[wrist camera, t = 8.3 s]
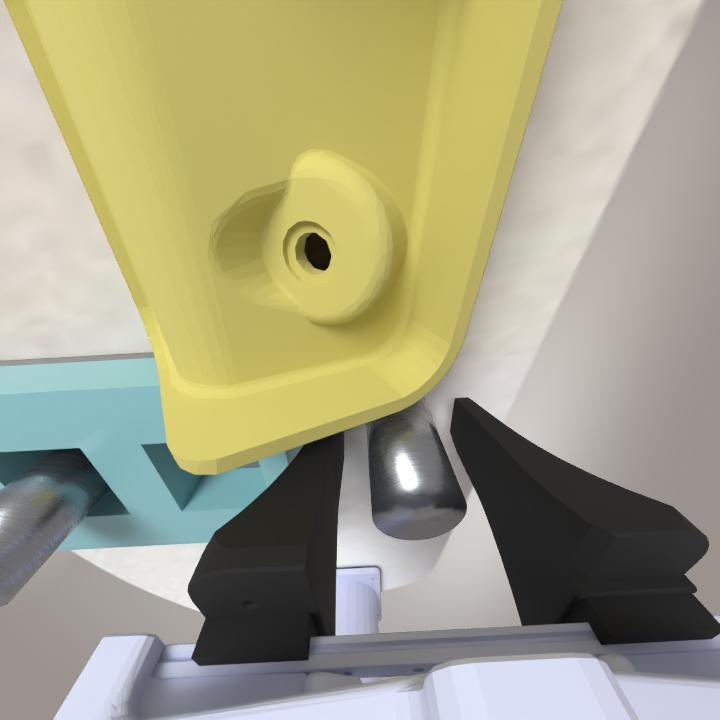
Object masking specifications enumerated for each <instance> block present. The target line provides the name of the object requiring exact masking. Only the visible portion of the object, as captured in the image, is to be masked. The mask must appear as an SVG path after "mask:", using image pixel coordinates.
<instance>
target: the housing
mask: <svg viewBox="0 0 720 720" xmlns="http://www.w3.org/2000/svg"><path fill="white" fill-rule="evenodd" d="M302 447H303V445H301V446H298V447H295V448H292V449H289V450H287V451H284V452H281V453H278V454H275V455H272V456H269V457H266V458H264V459H261V460H258V461H255V462H252V463H249V464H246V465H243V466H241V467H238V468H235V469H232V470H229V471H226V472H223V473H220V474H218V475H195V474H192V473H190V472H188V471H185V470H183V469H181V468H180V467H179V465H178V464H177V462H176V461H175V459H174V457H173V455H172V454H171V452H170V450H169V448H168V446H167V440H166V432H165V424H164V416H163V408H162V400H161V392H160V383H159V375H158V368H157V364H156V360H155V356H154V353H153V352H151V353H134V354H116V355H98V356H81V357H63V358H45V359H27V360H10V361H0V490H1V489H2V488H4V487H5V486H6V485H8V484H9V483H10V482H11V481H13V480H14V479H15V478H17V477H18V476H19V475H20V474H22V473H23V472H24V471H26V470H27V469H28V468H29V467H31V466H32V465H33V464H35V463H36V462H37V461H38V460H40V459H41V458H42V457H44V456H45V455H46V454H47V453H49V452H50V451H51V450H53V449H69V448H80V449H81V450H82V451H83V453H84V454H85V455H86V457H87V458H88V459H89V461H90V462H91V463H92V464H93V466H94V467H95V468H96V470H97V471H98V472H99V473H100V475H101V476H102V477H103V479H104V480H105V481H106V483H107V484H108V485H109V486H110V489H109V490H108V491H107V492H106V494H105V495H104V496H103V497H102V498H101V499H100V500H99V502H98V503H97V504H96V505H95V506H94V507H93V508H92V509H91V511H90V512H89V513H88V514H87V515H86V516H85V517H84V518H83V520H82V521H81V522H80V523H79V524H78V525H77V526H76V528H75V529H74V530H73V531H72V532H71V533H70V534H69V535H68V537H67V538H66V539H65V540H64V541H63V542H62V543H61V544H60V546H59V547H58V548H57V549H56V550H76V549H94V548H113V547H131V546H150V545H169V544H187V543H206V542H209V541H210V540H211V538H212V536H213V534H214V532H215V531H216V530H218V529H219V528H220V527H222V526H223V525H224V524H226V523H227V522H228V521H229V520H231V519H232V518H233V517H235V516H236V515H237V514H238V513H240V512H241V511H242V510H243V509H245V508H246V507H247V506H248V505H249V504H250V503H251V502H252V501H253V500H255V499H256V498H257V497H258V496H259V495H260V494H261V493H262V492H263V491H264V490H265V489H267V488H268V487H269V486H270V485H271V484H272V483H273V481H274V480H275V479H276V478H277V477H278V476H279V475H280V474H281V473H282V472H283V471H284V470H285V468H286V467H287V466H288V465H289V464H290V463H291V461H292V460H293V459H294V458H295V456H296V455H297V454H298V452H299V451H300V450H301V448H302ZM56 550H55V551H56Z"/></svg>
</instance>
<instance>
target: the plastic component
mask: <svg viewBox="0 0 720 720" xmlns="http://www.w3.org/2000/svg"><path fill="white" fill-rule="evenodd" d="M562 2H563V0H4V3H5V5H6V7H7V9H8V12H9V14H10V16H11V18H12V21H13V23H14V25H15V28H16V30H17V32H18V35H19V37H20V39H21V41H22V44H23V46H24V48H25V51H26V53H27V55H28V58H29V60H30V62H31V64H32V67H33V69H34V71H35V74H36V76H37V78H38V81H39V83H40V85H41V87H42V90H43V92H44V94H45V97H46V99H47V101H48V104H49V106H50V108H51V110H52V113H53V115H54V117H55V120H56V122H57V124H58V127H59V129H60V131H61V133H62V136H63V138H64V140H65V143H66V145H67V147H68V150H69V152H70V154H71V156H72V159H73V161H74V163H75V166H76V168H77V170H78V173H79V175H80V177H81V179H82V182H83V184H84V186H85V189H86V191H87V193H88V196H89V198H90V200H91V202H92V205H93V207H94V209H95V212H96V214H97V216H98V218H99V221H100V223H101V225H102V228H103V230H104V232H105V235H106V237H107V239H108V241H109V244H110V246H111V248H112V251H113V253H114V255H115V258H116V260H117V262H118V264H119V267H120V269H121V271H122V274H123V276H124V278H125V281H126V283H127V285H128V287H129V290H130V292H131V294H132V297H133V299H134V301H135V304H136V306H137V308H138V311H139V313H140V316H141V318H142V321H143V323H144V326H145V329H146V332H147V334H148V337H149V340H150V343H151V346H152V349H153V353H154V356H155V360H156V364H157V368H158V375H159V383H160V392H161V400H162V408H163V416H164V424H165V432H166V440H167V446H168V448H169V450H170V452H171V454H172V455H173V457H174V459H175V461H176V462H177V464H178V465H179V467H180V468H181V469H183V470H185V471H188V472H190V473H192V474H195V475H218V474H220V473H223V472H226V471H229V470H232V469H235V468H238V467H241V466H243V465H246V464H249V463H252V462H255V461H258V460H261V459H264V458H266V457H269V456H272V455H275V454H278V453H281V452H284V451H287V450H289V449H292V448H295V447H298V446H301V445H304V444H307V443H310V442H313V441H315V440H318V439H321V438H324V437H327V436H330V435H333V434H336V433H338V432H341V431H344V430H347V429H350V428H353V427H356V426H359V425H361V424H364V423H367V422H370V421H373V420H376V419H379V418H382V417H384V416H387V415H390V414H393V413H396V412H399V411H401V410H403V409H405V408H407V407H409V406H411V405H412V404H414V403H416V402H417V401H418V400H420V399H421V398H422V397H424V396H425V395H426V394H428V393H429V392H430V391H431V390H432V389H433V388H434V387H435V386H436V385H437V384H438V383H439V382H440V381H441V379H442V378H443V377H444V375H445V374H446V373H447V372H448V370H449V369H450V367H451V366H452V364H453V362H454V361H455V359H456V357H457V355H458V353H459V351H460V349H461V346H462V344H463V342H464V338H465V335H466V331H467V328H468V324H469V321H470V318H471V314H472V311H473V307H474V304H475V300H476V297H477V294H478V290H479V287H480V283H481V280H482V276H483V273H484V270H485V266H486V263H487V259H488V256H489V252H490V249H491V246H492V242H493V239H494V235H495V232H496V228H497V225H498V222H499V218H500V215H501V211H502V208H503V204H504V201H505V198H506V194H507V191H508V187H509V184H510V180H511V177H512V174H513V170H514V167H515V163H516V160H517V156H518V153H519V150H520V146H521V143H522V139H523V136H524V132H525V129H526V126H527V122H528V119H529V115H530V112H531V108H532V105H533V102H534V98H535V95H536V91H537V88H538V84H539V81H540V78H541V74H542V71H543V67H544V64H545V60H546V57H547V54H548V50H549V47H550V43H551V40H552V36H553V33H554V30H555V26H556V23H557V19H558V16H559V12H560V9H561V6H562ZM315 232H316V233H317V234H318V235H319V236H321V237H322V238H323V239H324V240H326V241H327V244H328V247H329V250H330V253H331V260H330V265H329V267H328V268H327V269H326V270H324V271H322V270H319V269H316V268H314V267H313V266H312V265H311V264H310V262H309V261H308V260H307V257H306V254H305V251H304V248H305V243H306V238H307V237H308V236H309V235H310V234H311V233H315Z"/></svg>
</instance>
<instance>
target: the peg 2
mask: <svg viewBox="0 0 720 720" xmlns="http://www.w3.org/2000/svg"><path fill="white" fill-rule="evenodd" d="M366 428H367V444H368V459H369V474H370V489H371V505H372V518H373V522H374V524H375V525H376V527H377V528H378V529H379V530H380V531H381V532H383V533H384V534H386V535H388V536H391V537H394V538H398V539H403V540H423V539H429V538H433V537H436V536H439V535H442V534H444V533H446V532H448V531H450V530H451V529H453V528H454V527H456V526H457V525H458V524H459V523H460V522H461V521H462V519H463V518H464V516H465V514H466V509H467V504H466V501H465V498H464V496H463V493H462V491H461V488H460V486H459V483H458V481H457V478H456V476H455V474H454V471H453V469H452V466H451V464H450V461H449V459H448V456H447V454H446V451H445V449H444V447H443V444H442V442H441V439H440V437H439V434H438V432H437V429H436V427H435V424H434V422H433V419H432V417H431V415H430V412H429V410H428V407H427V405H426V402H425V400H424V397H422V398H421V399H420V400H418V401H417V402H416V403H414V404H412V405H411V406H409V407H407V408H405V409H403V410H401V411H399V412H396V413H393V414H390V415H387V416H384V417H382V418H379V419H376V420H373V421H370V422H367V423H366Z"/></svg>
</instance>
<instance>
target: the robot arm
mask: <svg viewBox="0 0 720 720" xmlns="http://www.w3.org/2000/svg"><path fill="white" fill-rule="evenodd" d="M450 433H451V436H452V439H453V442H454V445H455V448H456V451H457V453H458V455H459V457H460V459H461V462H462V464H463V466H464V468H465V470H466V472H467V474H468V476H469V478H470V480H471V482H472V484H473V486H474V488H475V490H476V492H477V494H478V497H479V499H480V501H481V503H482V506H483V508H484V511H485V514H486V516H487V519H488V522H489V524H490V527H491V530H492V532H493V536H494V538H495V541H496V544H497V547H498V550H499V553H500V555H501V559H502V562H503V565H504V568H505V571H506V574H507V577H508V580H509V583H510V587H511V590H512V593H513V596H514V600H515V603H516V607H517V610H518V613H519V617H520V620H521V623H522V626H513V627H512V626H511V627H493V628H475V629H474V628H473V629H454V630H435V631H417V632H397V633H378V621H380V619H381V588H380V570H379V569H378V568H376V567H370V568H351V569H336V563H337V524H338V506H339V497H340V488H341V480H342V472H343V463H344V431H341V432H338V433H336V434H333V435H330V436H327V437H324V438H321V439H318V440H315V441H313V442H310V443H307V444H304V445H303V447H302V448H301V450H300V451H299V452H298V454H297V455H296V456H295V458H294V459H293V460H292V461H291V463H290V464H289V465H288V466H287V467H286V468H285V470H284V471H283V472H282V473H281V474H280V475H279V476H278V477H277V478H276V479H275V480H274V481H273V483H272V484H271V485H270V486H269V487H268V488H267V489H265V490H264V491H263V492H262V493H261V494H260V495H259V496H258V497H257V498H256V499H255V500H253V501H252V502H251V503H250V504H249V505H248V506H247V507H246V508H245V509H243V510H242V511H241V512H240V513H238V514H237V515H236V516H235V517H233V518H232V519H231V520H229V521H228V522H227V523H226V524H224V525H223V526H222V527H220V528H219V529H218V530H216V531H215V532H214V534H213V536H212V538H211V540H210V541H209V543H208V545H207V546H206V548H205V550H204V552H203V554H202V556H201V558H200V561H199V563H198V565H197V567H196V569H195V571H194V574H193V576H192V578H191V580H190V582H189V585H188V593H189V596H190V598H191V600H192V601H193V603H194V604H195V605H196V606H197V608H198V609H199V610H200V611H201V613H202V614H203V615H204V616H205V618H206V619H205V622H204V625H203V627H202V630H201V632H200V635H199V638H198V640H197V643H189V644H170V645H164V642H163V641H162V639H161V638H160V637H158V636H156V635H153V634H149V633H134V634H133V633H132V634H113V635H107V636H105V637H103V638H102V640H101V642H100V643H99V645H98V646H97V648H96V650H95V652H94V653H93V655H92V656H91V658H90V660H89V661H88V663H87V665H86V666H85V668H84V670H83V671H82V673H81V675H80V676H79V678H78V679H77V681H76V683H75V685H74V686H73V688H72V690H71V691H70V693H69V694H68V696H67V698H66V699H65V701H64V703H63V704H62V706H61V708H60V709H59V711H58V712H57V714H56V716H55V718H54V719H53V720H720V616H712V615H711V613H710V612H709V611H708V610H707V609H706V608H705V607H704V606H703V605H702V604H701V603H700V601H698V599H697V598H696V597H695V596H694V595H693V594H692V593H695V592H696V591H697V589H696V587H695V585H694V584H693V583H692V582H691V581H690V580H689V579H688V578H687V577H686V576H685V575H684V574H685V573H686V572H687V571H688V570H689V569H690V568H691V567H693V566H694V565H695V564H696V563H697V562H698V561H699V560H700V559H701V558H702V557H703V556H704V555H705V553H706V552H707V550H708V547H709V541H708V539H707V537H706V535H704V534H703V533H702V532H701V531H700V530H699V529H698V528H696V527H695V526H694V525H693V524H692V523H691V522H690V521H689V520H687V519H686V518H685V517H684V516H683V515H682V514H681V513H680V512H678V511H677V510H676V509H675V508H674V507H672V506H670V505H667V504H664V503H662V502H659V501H657V500H654V499H651V498H648V497H646V496H643V495H641V494H638V493H635V492H633V491H630V490H627V489H625V488H623V487H620V486H618V485H615V484H613V483H611V482H608V481H606V480H604V479H601V478H599V477H597V476H595V475H592V474H590V473H588V472H586V471H584V470H582V469H580V468H578V467H576V466H574V465H571V464H570V463H568V462H566V461H564V460H561V459H560V458H558V457H556V456H554V455H552V454H551V453H549V452H547V451H545V450H543V449H542V448H540V447H538V446H537V445H535V444H533V443H532V442H530V441H529V440H527V439H525V438H524V437H522V436H521V435H519V434H518V433H516V432H514V431H513V430H512V429H510V428H509V427H507V426H506V425H505V424H503V423H502V422H500V421H499V420H498V419H496V418H495V417H494V416H492V415H491V414H490V413H488V412H487V411H486V410H484V409H483V408H482V407H480V406H479V405H478V404H476V403H475V402H474V401H472V400H471V399H469V398H455V402H454V408H453V415H452V422H451V429H450ZM392 676H406V677H399V678H394V679H388V680H381V677H392Z"/></svg>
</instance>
